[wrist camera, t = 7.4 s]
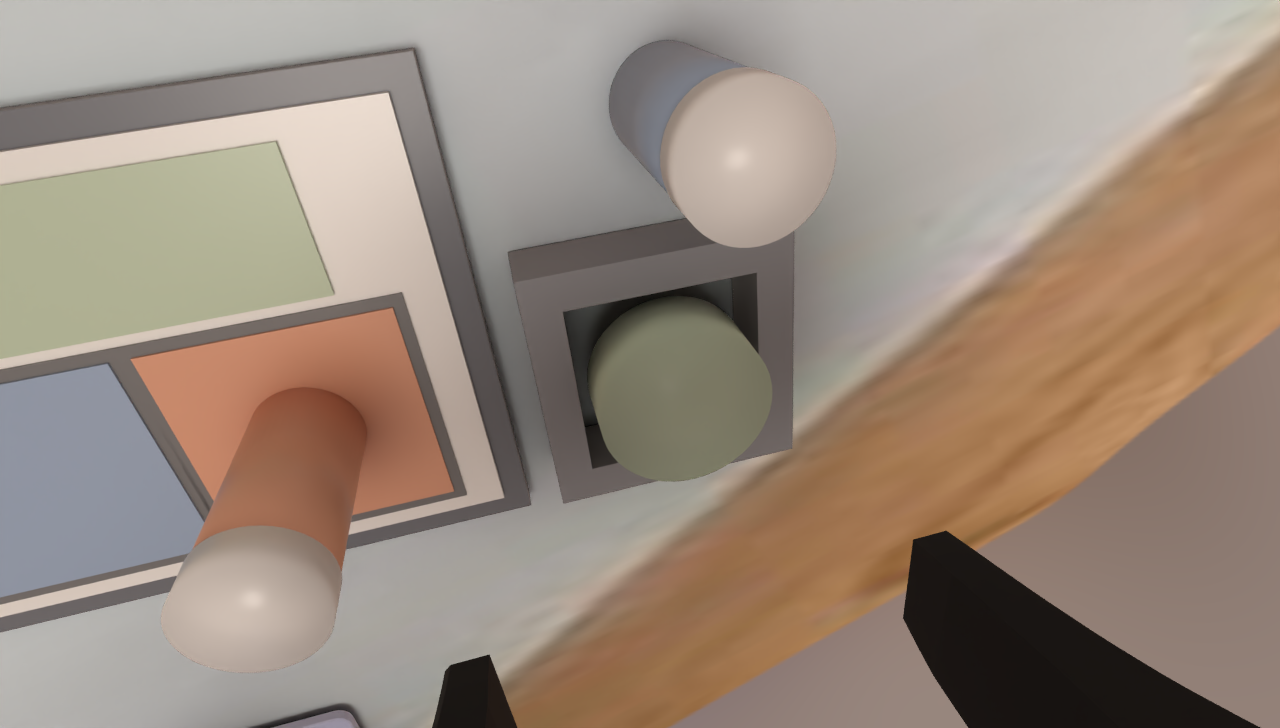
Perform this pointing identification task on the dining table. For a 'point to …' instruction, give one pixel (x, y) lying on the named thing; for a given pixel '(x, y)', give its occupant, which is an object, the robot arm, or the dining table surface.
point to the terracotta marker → (272, 539)
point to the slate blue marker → (725, 140)
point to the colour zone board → (229, 317)
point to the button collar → (635, 270)
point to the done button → (677, 389)
